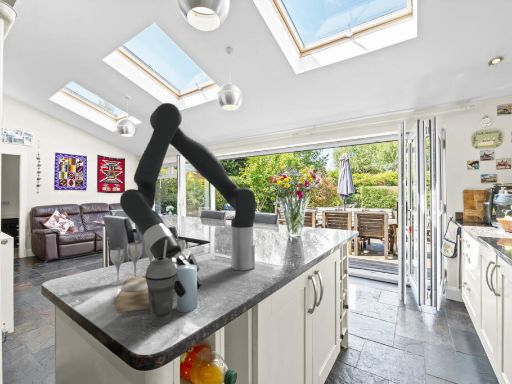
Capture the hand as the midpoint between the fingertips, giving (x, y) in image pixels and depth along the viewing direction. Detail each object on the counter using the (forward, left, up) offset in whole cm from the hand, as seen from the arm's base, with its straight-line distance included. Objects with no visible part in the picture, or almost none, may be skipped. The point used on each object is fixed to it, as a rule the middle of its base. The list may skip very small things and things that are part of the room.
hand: (191, 290), depth 68 cm
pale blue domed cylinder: (+1, -1, -5) cm, 5 cm away
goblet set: (+15, -33, -5) cm, 37 cm away
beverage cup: (+7, +5, -5) cm, 10 cm away
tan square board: (+13, -10, -5) cm, 17 cm away
